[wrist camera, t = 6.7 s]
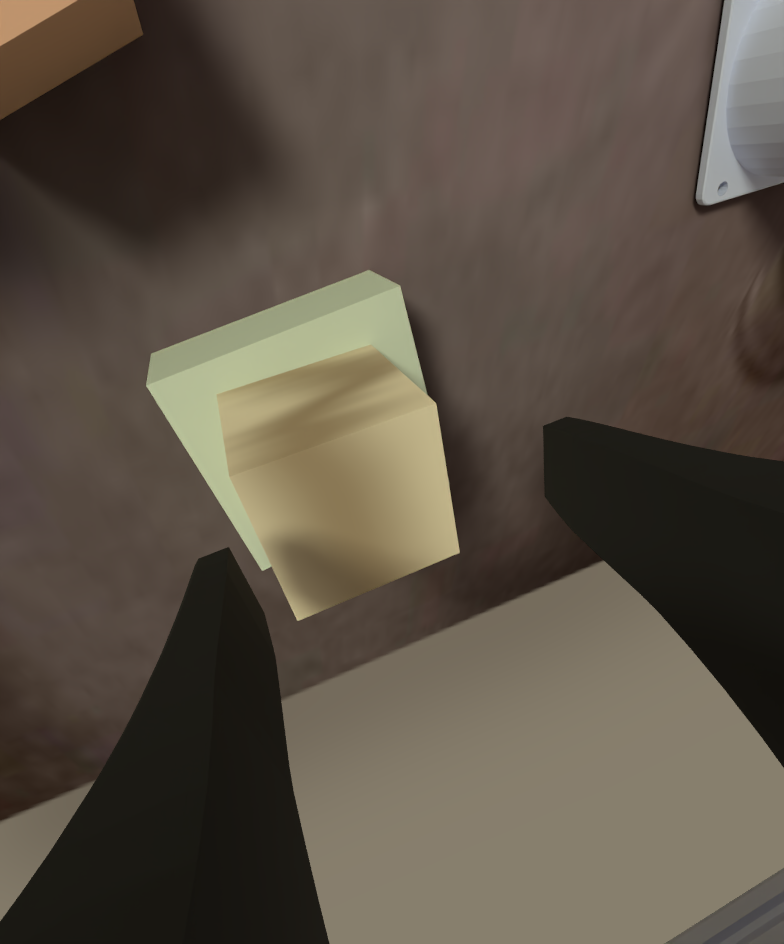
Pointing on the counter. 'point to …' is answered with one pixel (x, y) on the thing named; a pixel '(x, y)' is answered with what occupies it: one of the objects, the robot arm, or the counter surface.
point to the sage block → (273, 367)
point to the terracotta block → (57, 43)
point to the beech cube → (340, 476)
